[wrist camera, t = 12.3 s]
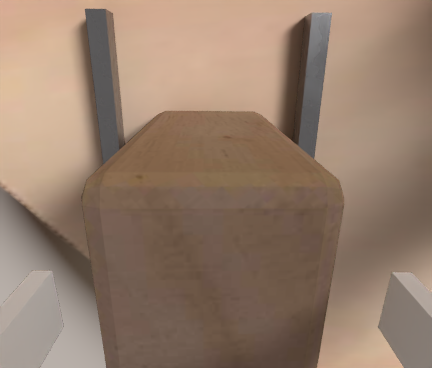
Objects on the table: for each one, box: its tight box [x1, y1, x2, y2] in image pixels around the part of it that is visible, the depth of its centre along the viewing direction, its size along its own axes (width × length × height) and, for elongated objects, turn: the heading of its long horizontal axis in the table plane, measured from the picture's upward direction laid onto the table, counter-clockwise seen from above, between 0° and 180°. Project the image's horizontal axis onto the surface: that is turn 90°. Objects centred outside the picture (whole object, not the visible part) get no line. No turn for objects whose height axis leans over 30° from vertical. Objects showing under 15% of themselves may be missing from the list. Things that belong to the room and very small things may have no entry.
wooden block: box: [81, 111, 344, 368], centre depth 22 cm, size 10×10×20 cm
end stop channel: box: [85, 9, 332, 164], centre depth 27 cm, size 21×20×6 cm
